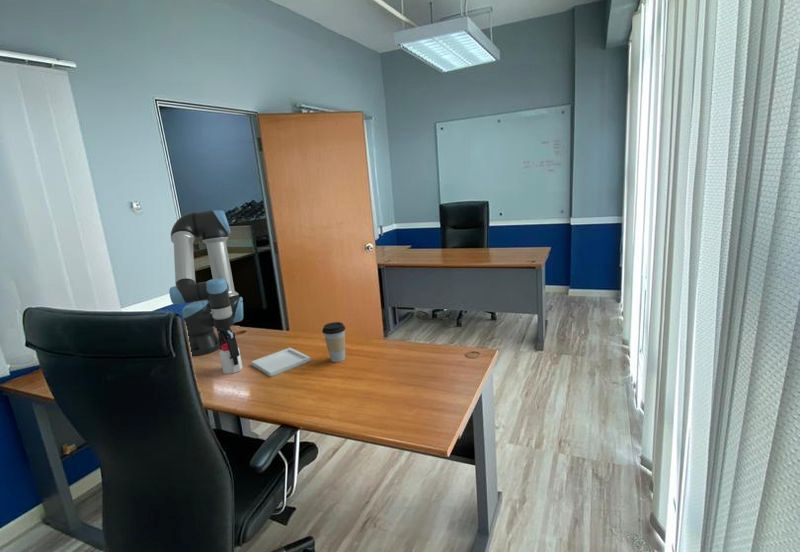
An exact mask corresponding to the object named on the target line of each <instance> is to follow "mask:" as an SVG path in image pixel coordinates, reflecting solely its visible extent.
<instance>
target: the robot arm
mask: <svg viewBox="0 0 800 552" xmlns="http://www.w3.org/2000/svg"><path fill="white" fill-rule="evenodd" d="M231 233H232V231H231V228H230V225H229V222H228V219H227V215H226V214H225V211H224V210H221V209H220V210H214V209H213V210H207V211H206V210H205V211H198V212H197V211H196V212H189V213H185V214H183V215H182V216H180V217H179V218H178V219H177V220H176V221H175V223H174V225H173V226H172V229H171V231H170V241H171V243H172V244H173V256H174V257H173V258H174V259H173V260H174V261H173V262H174V276H175V277H174V279H175V280H174V281H175V285H174V286H171V287H170V288H169V297H170V300H171V303H172V304H173V305H175V306H176V305H185V306H184V307H182V311H181V312H182V319H183V321H184V320H185V322H186V326H187V330H188V336H189V342H190V347H191V352H192V356H193V357H194V356H202V355H203V356H204V355H207V354H211V353H213V352H216V351H218V350H219V351H221V350H222V349H221V345H223V344H225V343H227V346H228V349H229V352H230V355H231V357H230V359H231V364H232V369H233V373H232V374H235V373H239V372H240V371H241V370H240V366H239V361H238V356H239V355H240V356H241V353H240V354H239V351H238V348H239V346H238V344H237V339H236V333H235V332H233V330H232V329H231V327H232V326H234V325H235V323H238V322H241V321H243V319H244V302H243V297H242V296H240V294H239V293H238V292H237V291H236V290H235V286H234V285H235V284H234V281H233V274H232V268H231V263H230V258H229V251H228V246H227V241H228V239H229V235H230V234H231ZM198 238H201V241H202V242H203V243H204V244H206V248H207V255H208V260H209V261H208V262H209V264H210V270H211V275H212V279H209V280H207V281H202V282H197V281H196V271H195V269H196V268H195V258H194V246H193V245H194V242H195V239H198ZM186 304H187V305H186ZM215 329H216V332H217V334H216V332H215Z"/></svg>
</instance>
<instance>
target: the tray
mask: <svg viewBox="0 0 800 552" xmlns="http://www.w3.org/2000/svg"><path fill="white" fill-rule="evenodd" d="M310 362H312V357H311V356H309V355H306V354H304V352H303V353H302V352H300V351H298V350H297V349H294V348H292V347H288V348H285V349H282V350H280V351H276V352H274V353H270V354H269V355H265V356H262V357H260V358H257V359H254V360H252V361H251V362H250V363H251V366H252V367H254V368H256V369H257V370H258V371H260V372H262V373H263V374H266V375H267V376H269V377H270V378H273V377H275V376H277V375H281V374H282V373H285V372H287V371H290V370H294V369H295V368H298V367H300V366H303V365H305V364H307V363H310Z"/></svg>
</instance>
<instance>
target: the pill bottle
mask: <svg viewBox="0 0 800 552" xmlns="http://www.w3.org/2000/svg"><path fill="white" fill-rule="evenodd" d="M221 349H222V350H219V353H218V354H219V358H220V364H221V369H222V372H223V374H226V375H227V374H234V373H233V369H232V364H231V359H230V357H231V355H230V352H229V349H228V346H227V343H225V344H223V345H221ZM238 351H239V354H240V355H239V356H238V361H239V366H240V371H241V370H243V361H242V357H241V352H240V348H239V347H238Z"/></svg>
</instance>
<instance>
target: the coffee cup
mask: <svg viewBox="0 0 800 552" xmlns="http://www.w3.org/2000/svg"><path fill="white" fill-rule="evenodd" d="M345 330H346V327H345V324H344V323H343V322H340V321H336V322H334V321H333V322H329V323H326V324H325V325H323V328H322V333H323V335H324V340H325V344H326V348H327V352H328V355H329V358H330V361H331V362H332V363H340V362H343V361H345V359H346V333H345Z"/></svg>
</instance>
